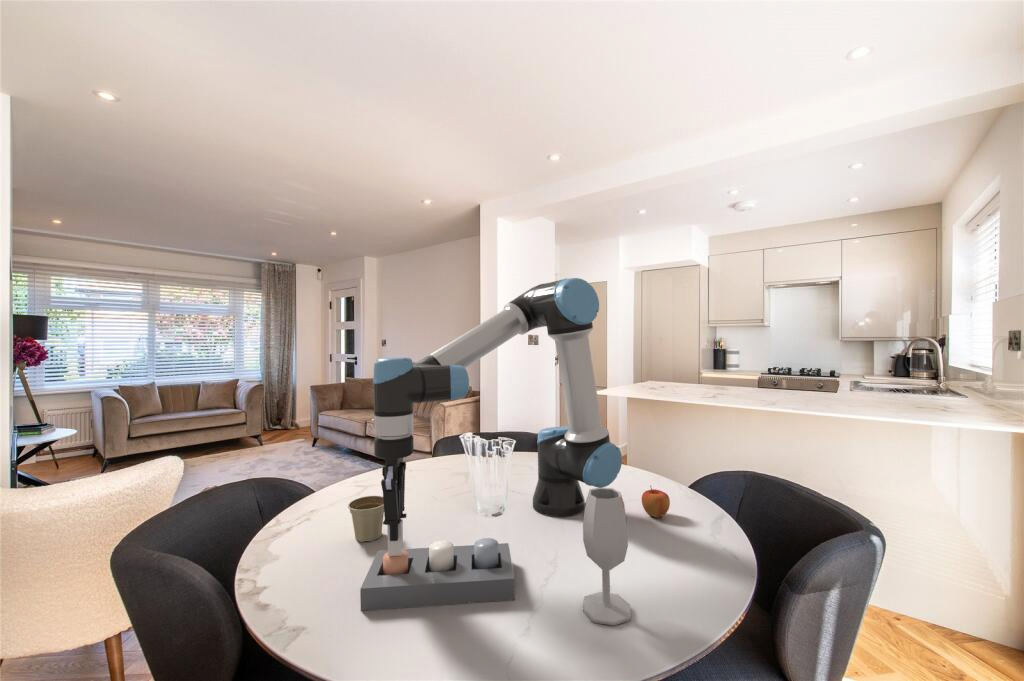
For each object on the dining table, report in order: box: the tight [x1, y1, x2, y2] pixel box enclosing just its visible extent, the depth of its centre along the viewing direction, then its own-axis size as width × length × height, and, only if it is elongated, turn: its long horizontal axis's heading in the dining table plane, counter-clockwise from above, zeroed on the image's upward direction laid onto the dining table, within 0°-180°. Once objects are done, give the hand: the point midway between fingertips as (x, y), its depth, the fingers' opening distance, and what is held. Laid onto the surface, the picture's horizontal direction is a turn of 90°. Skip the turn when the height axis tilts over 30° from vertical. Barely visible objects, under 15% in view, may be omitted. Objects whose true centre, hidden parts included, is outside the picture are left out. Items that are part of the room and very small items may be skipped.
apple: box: [641, 485, 671, 519], centre depth 115 cm, size 7×7×8 cm
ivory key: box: [428, 540, 454, 572], centre depth 84 cm, size 5×5×4 cm
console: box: [360, 542, 516, 612], centre depth 84 cm, size 28×14×4 cm, turn 95°
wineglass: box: [581, 487, 632, 626], centre depth 75 cm, size 9×9×21 cm
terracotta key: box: [383, 550, 408, 575], centre depth 83 cm, size 5×5×4 cm
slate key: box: [473, 537, 499, 569], centre depth 85 cm, size 5×5×4 cm
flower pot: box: [347, 495, 385, 543], centre depth 105 cm, size 9×9×9 cm
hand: (395, 554), depth 83 cm, fingers closed
